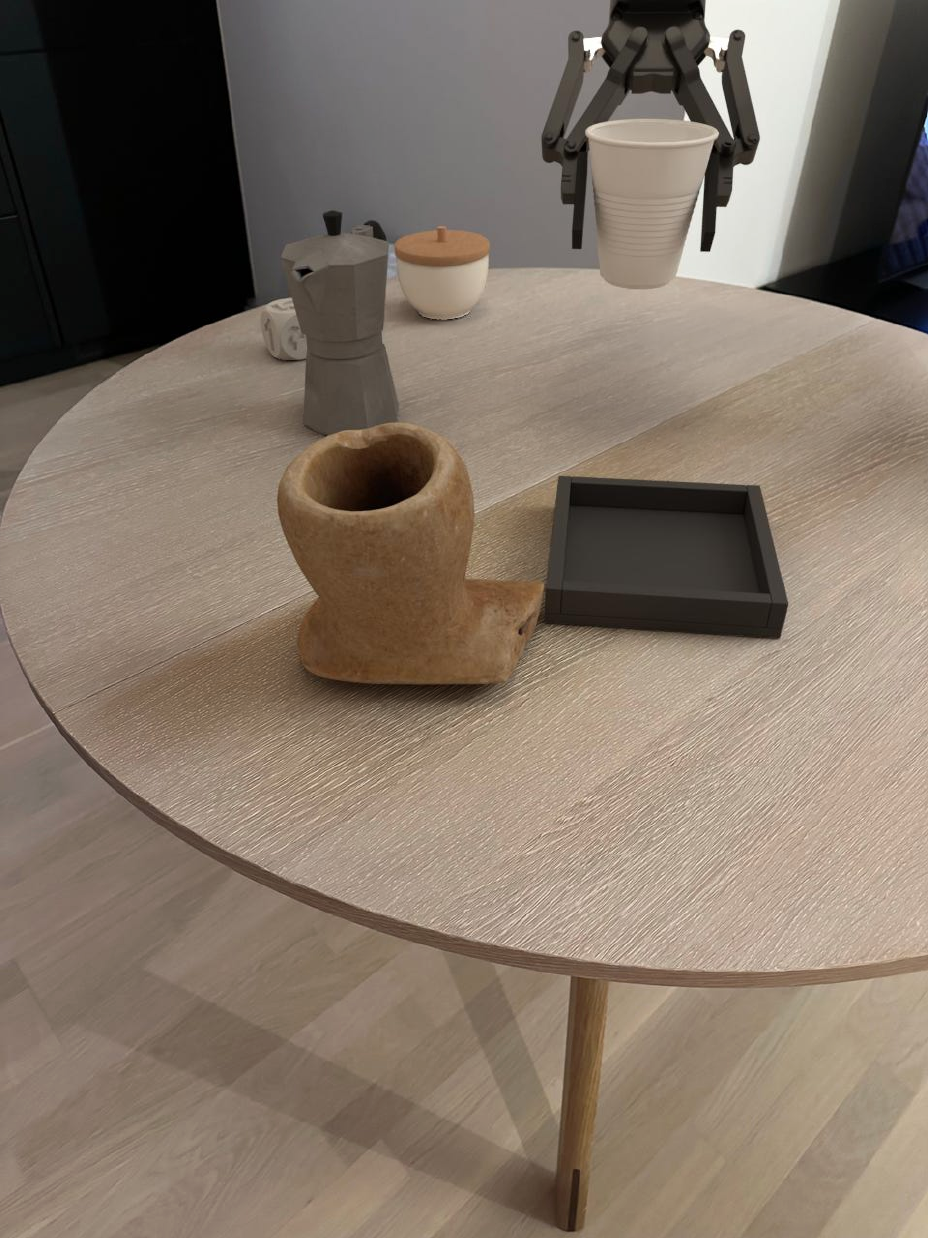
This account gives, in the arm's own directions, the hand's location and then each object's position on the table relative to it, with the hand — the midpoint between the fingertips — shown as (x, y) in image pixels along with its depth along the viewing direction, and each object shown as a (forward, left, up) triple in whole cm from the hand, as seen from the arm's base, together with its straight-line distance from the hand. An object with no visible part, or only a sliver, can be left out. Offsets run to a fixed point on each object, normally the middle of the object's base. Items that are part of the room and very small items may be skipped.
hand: (641, 240), depth 72 cm
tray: (-2, +20, -17) cm, 26 cm away
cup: (0, -3, -4) cm, 5 cm away
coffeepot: (+25, -3, -17) cm, 30 cm away
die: (+35, -17, -17) cm, 42 cm away
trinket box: (+21, -31, -17) cm, 41 cm away
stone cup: (+13, +32, -17) cm, 38 cm away
